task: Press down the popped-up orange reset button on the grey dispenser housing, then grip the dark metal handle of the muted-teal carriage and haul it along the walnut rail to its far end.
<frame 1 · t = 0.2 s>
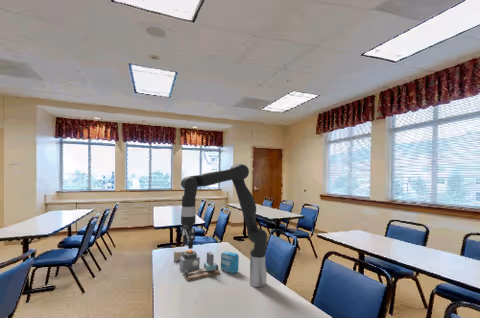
hand: (187, 246, 122), 29 cm above the table, fingers open, 8 cm apart
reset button: (189, 252, 164), point 11 cm above the table, slide at 0.0 cm
grey dispenser housing: (189, 268, 163), on the table
rail base: (201, 274, 155), on the table
carriage: (210, 260, 158), point 8 cm above the table, slide at 0.0 cm
model: (181, 261, 178), on the table
data package: (229, 271, 161), on the table
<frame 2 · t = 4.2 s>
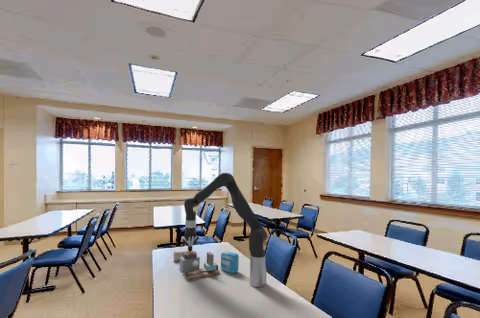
hand: (189, 251, 164), 12 cm above the table, fingers closed
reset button: (189, 252, 164), point 11 cm above the table, slide at 0.5 cm, touching gripper
everything else where it was.
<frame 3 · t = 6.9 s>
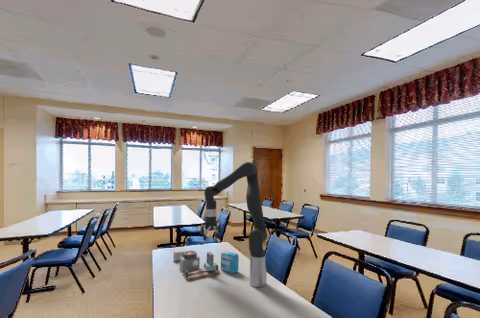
hand: (210, 239, 159), 22 cm above the table, fingers open, 7 cm apart
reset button: (189, 254, 164), point 10 cm above the table, slide at 1.7 cm
everything else where it was.
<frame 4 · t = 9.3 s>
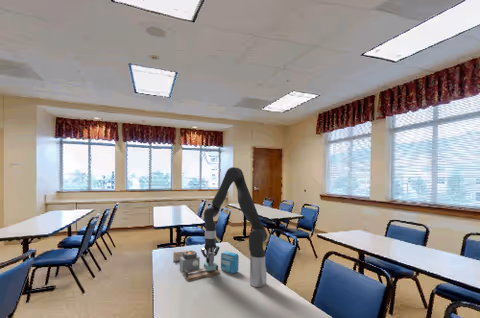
hand: (209, 262, 158), 7 cm above the table, fingers closed on carriage, 2 cm apart
carriage: (210, 260, 158), point 8 cm above the table, slide at 0.0 cm, touching gripper
everything else where it was.
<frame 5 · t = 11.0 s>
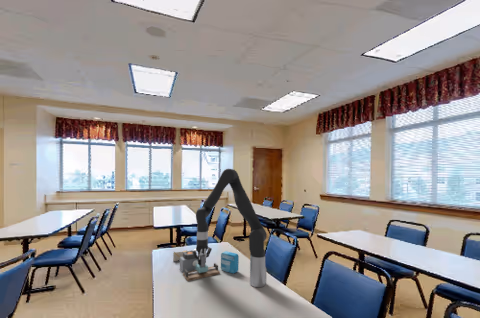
hand: (201, 264, 155), 7 cm above the table, fingers closed on carriage, 2 cm apart
carriage: (201, 262, 155), point 8 cm above the table, slide at 5.9 cm, touching gripper
everything else where it was.
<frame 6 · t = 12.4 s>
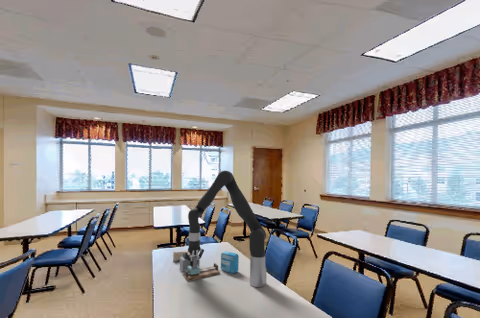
hand: (193, 265, 152), 7 cm above the table, fingers closed on carriage, 2 cm apart
carriage: (193, 264, 152), point 8 cm above the table, slide at 11.4 cm, touching gripper
everything else where it was.
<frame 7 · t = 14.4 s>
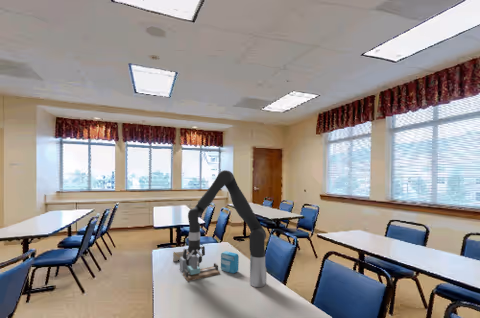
hand: (193, 263, 152), 8 cm above the table, fingers open, 8 cm apart
carriage: (193, 264, 152), point 8 cm above the table, slide at 11.4 cm
everything else where it was.
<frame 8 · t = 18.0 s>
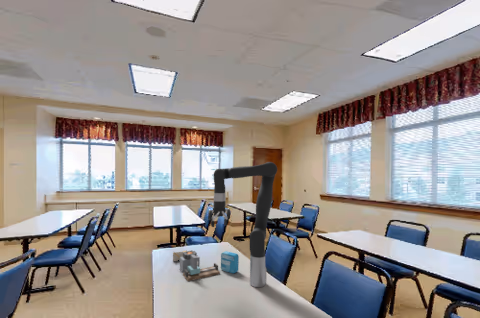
hand: (219, 226, 146), 34 cm above the table, fingers open, 8 cm apart
nothing on the table moved.
at the end: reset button slide at 1.7 cm; carriage slide at 11.4 cm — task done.
